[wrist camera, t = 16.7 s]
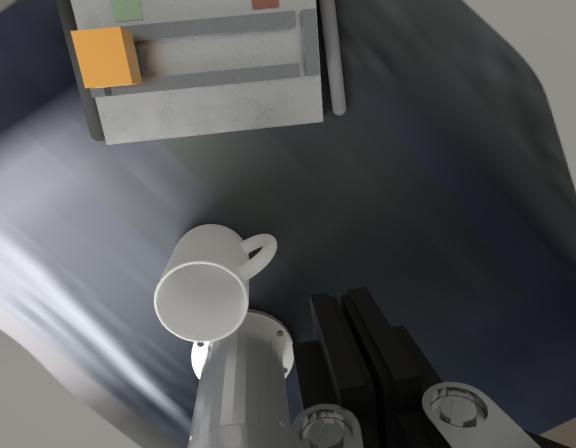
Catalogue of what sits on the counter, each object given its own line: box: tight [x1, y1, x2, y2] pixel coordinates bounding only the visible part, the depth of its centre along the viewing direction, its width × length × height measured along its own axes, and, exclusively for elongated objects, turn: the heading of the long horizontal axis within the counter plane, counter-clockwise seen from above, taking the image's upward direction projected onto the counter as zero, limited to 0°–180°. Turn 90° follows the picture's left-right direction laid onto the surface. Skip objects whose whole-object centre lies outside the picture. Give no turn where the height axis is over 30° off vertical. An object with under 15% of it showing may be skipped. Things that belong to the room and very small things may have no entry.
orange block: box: [71, 27, 142, 88], centre depth 32 cm, size 4×4×6 cm
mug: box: [154, 224, 277, 342], centre depth 39 cm, size 12×8×10 cm
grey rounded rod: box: [319, 0, 346, 116], centre depth 37 cm, size 13×1×1 cm, turn 9°
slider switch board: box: [71, 0, 323, 145], centre depth 36 cm, size 14×21×4 cm, turn 95°
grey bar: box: [56, 0, 105, 141], centre depth 36 cm, size 13×1×1 cm, turn 5°
